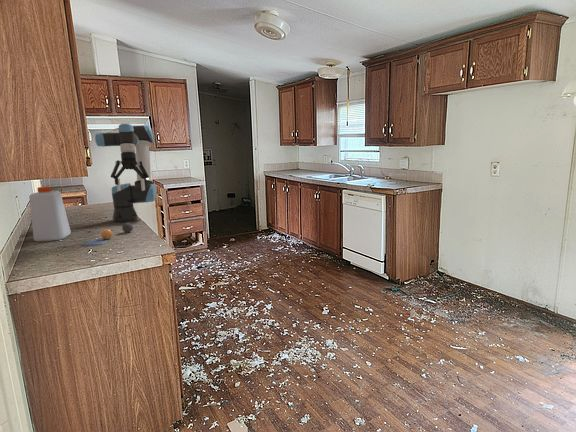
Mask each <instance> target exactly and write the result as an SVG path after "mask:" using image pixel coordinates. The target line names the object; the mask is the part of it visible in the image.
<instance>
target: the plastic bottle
mask: <svg viewBox="0 0 576 432" xmlns="http://www.w3.org/2000/svg"><path fill="white" fill-rule="evenodd" d="M36 190H37V192H33V193H31V194H30V195H29V196H28V198H29V208H30V215H31V216H30V217H31V226H32V235H33V236H32V237H33V241H35V242H39V243H40V242H41V243H42V242H52V241H54V242H55V241H60V240H63V239H66V238H67V237H68V236H69V235H71V234H72V233H71V232H72V231H71V227H70V224H69V221H68V220H69V219H68V216H67V213H66V209H65V203H64V201H63V196H62V193H61V191H59V190H52V186H49V185H48V186H39V187H37V189H36Z"/></svg>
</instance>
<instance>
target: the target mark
mask: <svg viewBox="0 0 576 432" xmlns="http://www.w3.org/2000/svg"><path fill="white" fill-rule="evenodd" d="M108 242H109V239H104V238H98V239H93V240H92V239H91V240H88V241H85V242H82V243H81V246H82V247H95V246H101V245H103V244H106V243H108Z"/></svg>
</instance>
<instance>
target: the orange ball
mask: <svg viewBox="0 0 576 432" xmlns="http://www.w3.org/2000/svg"><path fill="white" fill-rule="evenodd" d="M100 236H101V239H106V240H110V239H111V238H112V237H113V231H112V230H111V229H109V228H104V229H102V230H101V232H100Z"/></svg>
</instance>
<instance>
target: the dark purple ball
mask: <svg viewBox="0 0 576 432" xmlns="http://www.w3.org/2000/svg"><path fill="white" fill-rule="evenodd" d="M121 229H122V231H123V232H125V233H131V232H132V231H133V229H134V226H133V224H132V223H131V222H125V223H124V224H122V227H121Z"/></svg>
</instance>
